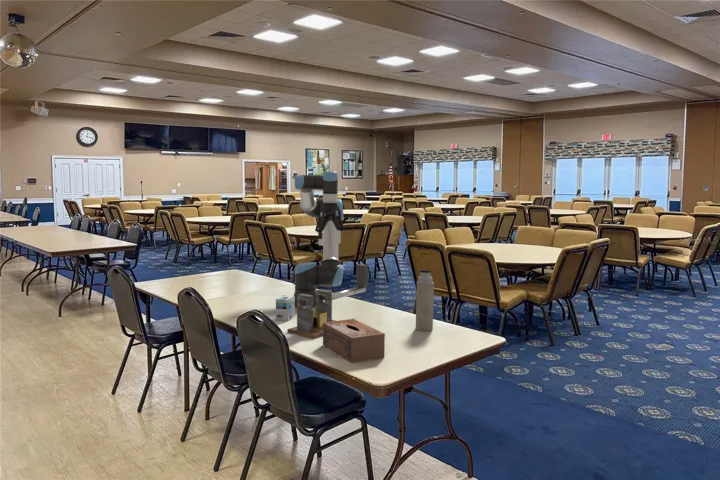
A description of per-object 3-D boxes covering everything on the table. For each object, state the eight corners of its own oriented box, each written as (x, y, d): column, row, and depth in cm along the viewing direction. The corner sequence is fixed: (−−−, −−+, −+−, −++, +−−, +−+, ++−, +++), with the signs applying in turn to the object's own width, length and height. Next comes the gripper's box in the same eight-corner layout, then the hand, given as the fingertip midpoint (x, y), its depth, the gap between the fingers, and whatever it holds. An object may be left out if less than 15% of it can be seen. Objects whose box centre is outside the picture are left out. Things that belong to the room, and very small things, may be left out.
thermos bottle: (417, 326, 265) (419, 268, 262) (434, 327, 262) (435, 269, 259) (413, 330, 258) (415, 270, 255) (430, 331, 255) (432, 271, 252)
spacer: (315, 324, 259) (315, 310, 259) (326, 327, 255) (327, 312, 254) (308, 326, 255) (308, 311, 255) (319, 329, 251) (319, 314, 250)
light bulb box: (288, 321, 271) (288, 299, 270) (275, 320, 272) (275, 298, 271) (295, 316, 281) (295, 295, 280) (282, 315, 282) (282, 294, 281)
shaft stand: (324, 321, 272) (325, 285, 270) (350, 326, 262) (350, 289, 260) (287, 332, 251) (287, 293, 249) (313, 338, 241) (314, 298, 240)
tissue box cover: (322, 345, 232) (323, 322, 231) (353, 341, 239) (353, 318, 238) (351, 363, 210) (352, 338, 209) (384, 358, 217) (384, 333, 216)
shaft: (359, 291, 284) (360, 264, 282) (367, 292, 281) (368, 265, 279) (321, 300, 260) (321, 271, 258) (329, 302, 257) (329, 272, 255)
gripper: (339, 201, 291) (339, 241, 293) (308, 202, 271) (307, 245, 273) (350, 201, 286) (350, 242, 289) (319, 203, 266) (319, 247, 269)
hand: (329, 244), depth 281 cm, fingers open, 13 cm apart
